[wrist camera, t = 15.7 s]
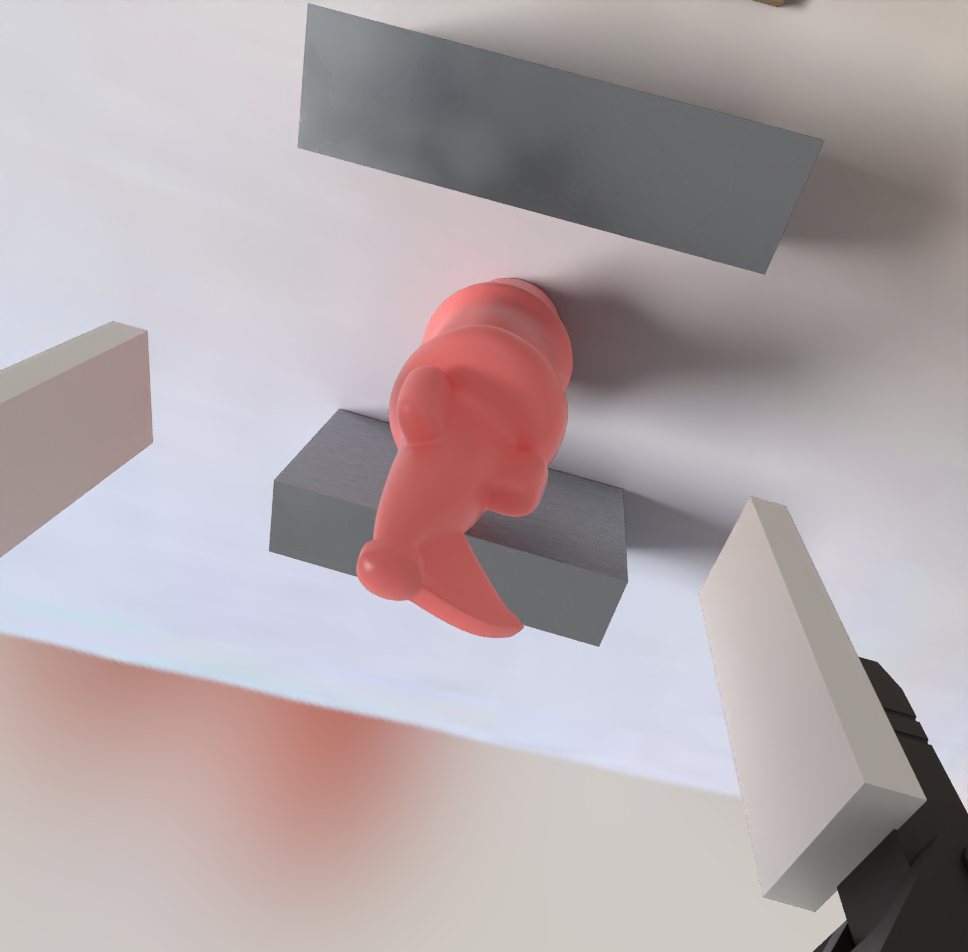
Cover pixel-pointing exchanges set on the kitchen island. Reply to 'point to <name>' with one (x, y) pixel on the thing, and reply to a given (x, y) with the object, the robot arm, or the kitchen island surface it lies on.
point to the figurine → (468, 448)
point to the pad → (772, 2)
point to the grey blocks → (539, 188)
